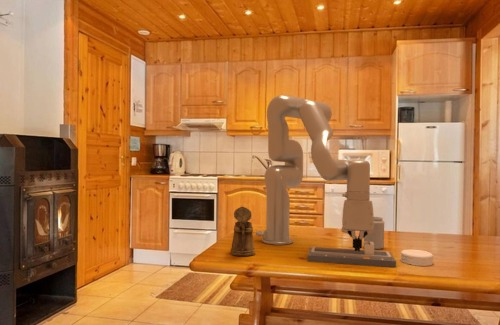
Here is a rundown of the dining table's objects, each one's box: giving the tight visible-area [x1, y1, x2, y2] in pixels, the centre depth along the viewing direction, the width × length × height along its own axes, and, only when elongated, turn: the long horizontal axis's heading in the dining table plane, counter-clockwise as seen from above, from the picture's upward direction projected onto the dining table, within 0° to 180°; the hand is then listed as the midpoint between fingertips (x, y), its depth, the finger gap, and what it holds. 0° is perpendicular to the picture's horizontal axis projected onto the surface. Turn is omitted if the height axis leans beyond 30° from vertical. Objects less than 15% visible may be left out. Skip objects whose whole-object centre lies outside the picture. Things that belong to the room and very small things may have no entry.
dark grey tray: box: [307, 246, 397, 268], centre depth 130 cm, size 28×12×3 cm, turn 78°
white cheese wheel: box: [400, 248, 434, 267], centre depth 128 cm, size 10×10×4 cm
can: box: [363, 216, 385, 251], centre depth 148 cm, size 8×8×12 cm
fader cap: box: [363, 241, 375, 255], centre depth 128 cm, size 3×4×4 cm
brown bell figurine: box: [229, 206, 256, 257], centre depth 134 cm, size 9×14×18 cm, turn 178°
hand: (357, 250), depth 129 cm, fingers closed
